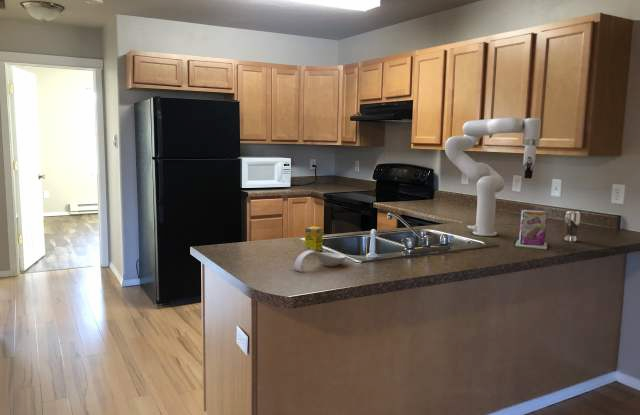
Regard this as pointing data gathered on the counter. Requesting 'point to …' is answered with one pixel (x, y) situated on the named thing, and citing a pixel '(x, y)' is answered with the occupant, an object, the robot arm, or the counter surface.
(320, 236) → the supplement box
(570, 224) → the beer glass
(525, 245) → the mat
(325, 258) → the spoon rest
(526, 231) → the candy bar box
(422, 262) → the counter surface
